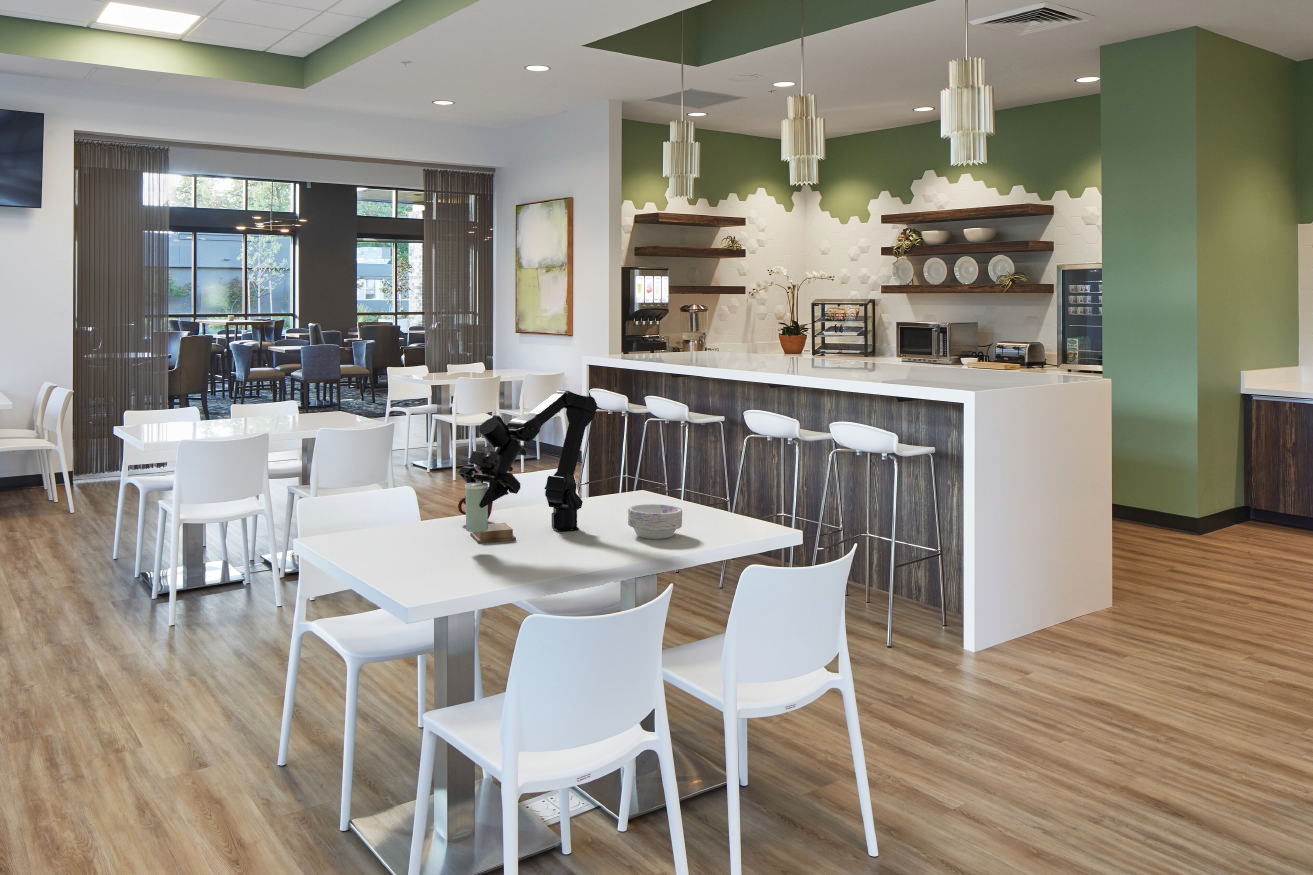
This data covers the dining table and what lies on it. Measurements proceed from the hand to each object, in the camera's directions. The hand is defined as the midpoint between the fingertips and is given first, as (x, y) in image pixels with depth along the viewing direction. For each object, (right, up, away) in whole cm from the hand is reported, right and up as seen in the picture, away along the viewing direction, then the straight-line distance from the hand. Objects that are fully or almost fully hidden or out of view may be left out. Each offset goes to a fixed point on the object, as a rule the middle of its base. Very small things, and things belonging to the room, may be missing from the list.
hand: (472, 505), depth 258 cm
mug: (-6, -8, +38) cm, 39 cm away
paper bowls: (+47, -10, +21) cm, 53 cm away
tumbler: (+1, -6, +2) cm, 7 cm away
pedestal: (+2, -10, +17) cm, 20 cm away
